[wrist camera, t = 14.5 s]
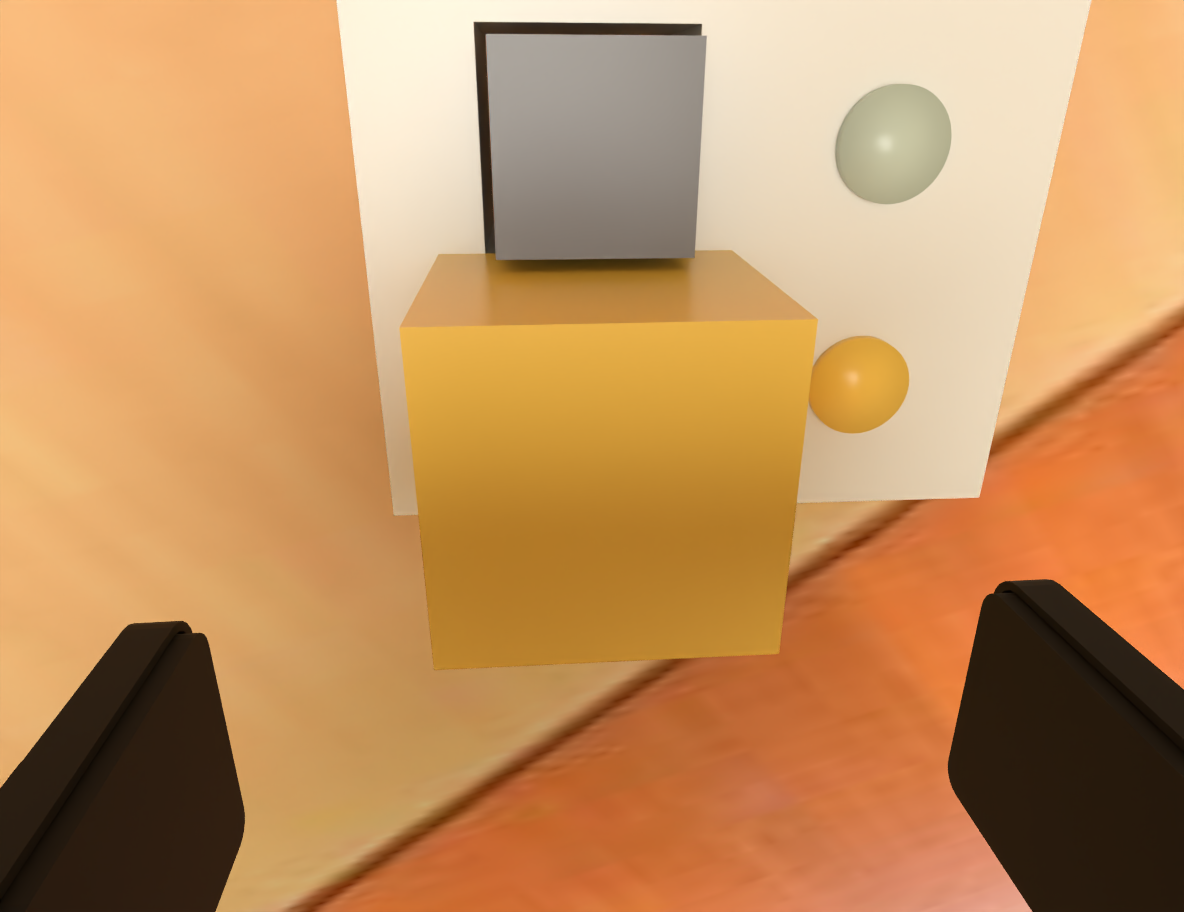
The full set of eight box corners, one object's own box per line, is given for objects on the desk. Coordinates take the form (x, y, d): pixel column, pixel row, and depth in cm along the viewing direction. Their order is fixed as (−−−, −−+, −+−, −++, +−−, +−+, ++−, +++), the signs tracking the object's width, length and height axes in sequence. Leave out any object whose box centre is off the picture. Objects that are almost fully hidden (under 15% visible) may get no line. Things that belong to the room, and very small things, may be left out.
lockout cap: (714, 506, 19) (778, 654, 14) (458, 515, 19) (434, 670, 14) (731, 249, 17) (818, 319, 12) (438, 254, 16) (398, 327, 11)
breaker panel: (911, 426, 24) (997, 502, 19) (417, 438, 23) (391, 521, 18) (988, -3, 19) (1123, -30, 15) (376, -10, 18) (328, -41, 14)
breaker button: (661, 224, 18) (694, 258, 15) (502, 225, 18) (495, 260, 15) (668, 46, 17) (706, 35, 13) (495, 45, 17) (485, 33, 13)
